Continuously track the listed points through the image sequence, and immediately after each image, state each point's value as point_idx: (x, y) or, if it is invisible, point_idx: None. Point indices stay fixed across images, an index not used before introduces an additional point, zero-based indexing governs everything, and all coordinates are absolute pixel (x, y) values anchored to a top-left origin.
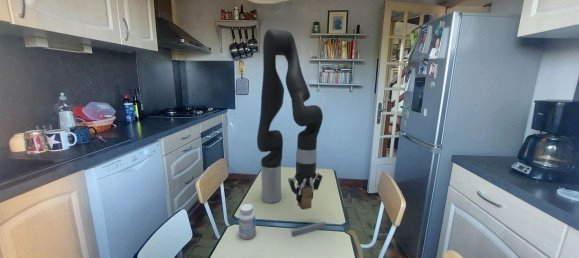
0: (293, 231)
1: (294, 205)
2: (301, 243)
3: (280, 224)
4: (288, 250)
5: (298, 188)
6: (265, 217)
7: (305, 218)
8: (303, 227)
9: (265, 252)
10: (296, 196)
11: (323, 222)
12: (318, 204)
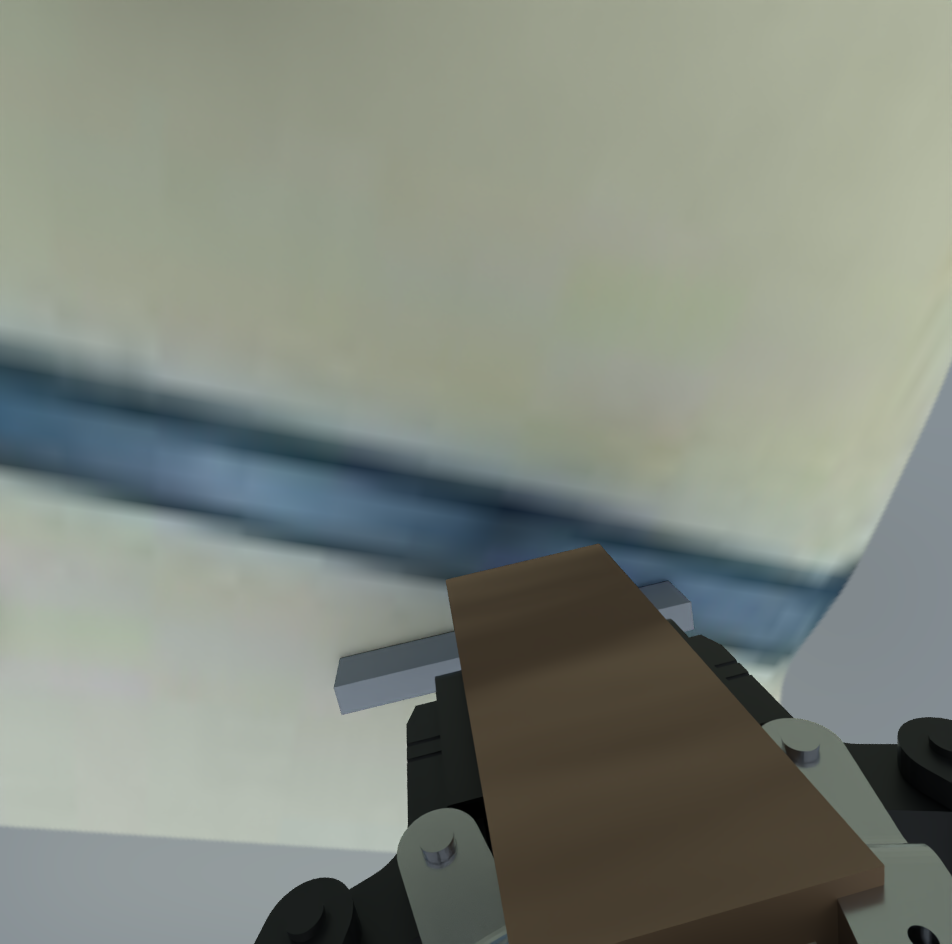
0: (348, 711)
1: (485, 115)
2: (403, 766)
3: (251, 491)
4: (283, 826)
5: (476, 932)
6: (74, 324)
7: (537, 432)
8: (459, 666)
9: (90, 831)
10: (410, 786)
11: (675, 617)
12: (782, 168)
